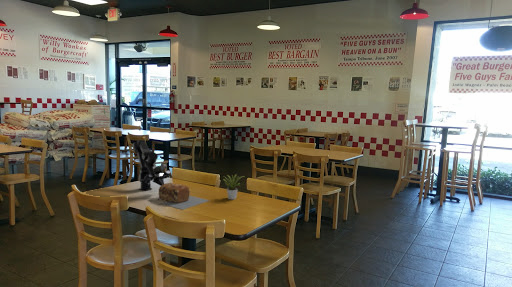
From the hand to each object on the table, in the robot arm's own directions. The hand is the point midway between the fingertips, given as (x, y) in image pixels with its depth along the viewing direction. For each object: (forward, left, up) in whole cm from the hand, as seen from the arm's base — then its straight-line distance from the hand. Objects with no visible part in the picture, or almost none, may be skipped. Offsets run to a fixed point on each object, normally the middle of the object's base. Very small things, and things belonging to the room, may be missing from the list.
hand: (163, 186), depth 234 cm
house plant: (+36, +27, -7) cm, 46 cm away
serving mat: (+19, 0, -7) cm, 20 cm away
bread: (+10, -1, -7) cm, 12 cm away
